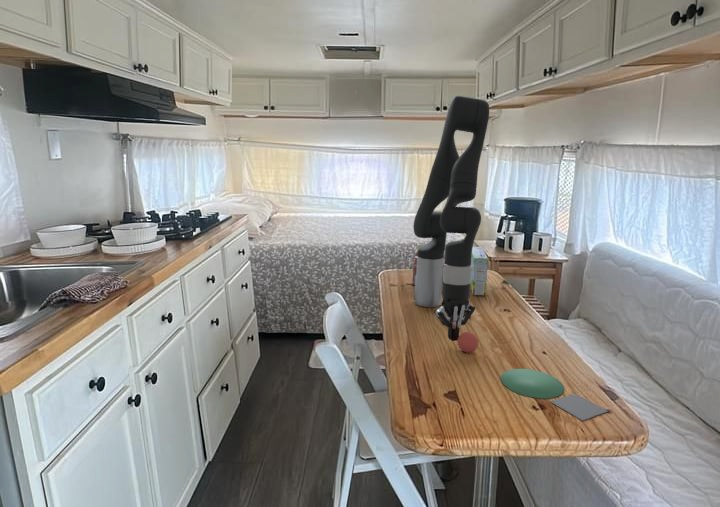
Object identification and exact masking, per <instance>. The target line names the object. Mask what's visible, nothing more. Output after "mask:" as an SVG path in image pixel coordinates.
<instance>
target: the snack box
mask: <svg viewBox="0 0 720 507" xmlns="http://www.w3.org/2000/svg"><path fill="white" fill-rule="evenodd" d="M488 262H489V258H488V256H487V255H486V252H485V251H484V249H483V247H481V246H473V248H472V257H471V286H470V292H471V291H472V292H471V295H472V294H473V295H472V296H476V295H482V297H483V296H484V297H486V295H487V282H488V281H487V280H488V267H489V265H488Z"/></svg>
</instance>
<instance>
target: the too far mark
mask: <svg viewBox="0 0 720 507" xmlns="http://www.w3.org/2000/svg"><path fill="white" fill-rule="evenodd" d="M550 403H552V404H553V405H554V406H557V407H558V408H559V409H561V410H563V411H565V412H567V413H568V414H570V415H571V416H573V417H574V418H576V419H578V420H580V421H582V422H584V421H587V420H590V419H592V418H595V417H597V416H600V415H603V414H605V413H609V410H607V409H605V408H603V407H602V406H600V405H598V404H596V403H594V402H592V401H591V400H588V399H587V398H585V397H583V396H581V395H579V394H578V393H573V394H570V395H567V396H563V397H559V398H557V399H554V400H551V401H550Z"/></svg>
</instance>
